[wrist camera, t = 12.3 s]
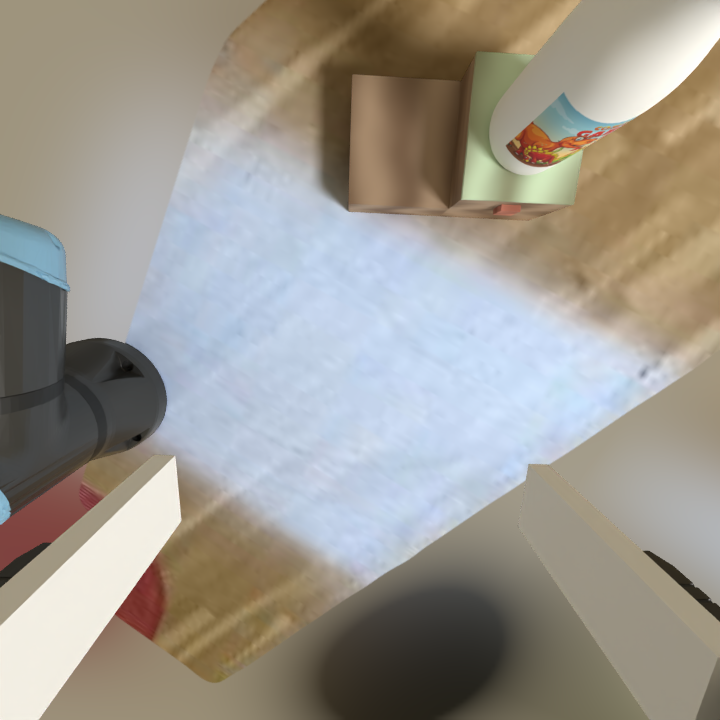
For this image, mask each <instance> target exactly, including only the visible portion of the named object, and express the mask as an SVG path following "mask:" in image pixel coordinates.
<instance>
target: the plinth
mask: <svg viewBox="0 0 720 720" xmlns="http://www.w3.org/2000/svg"><path fill="white" fill-rule="evenodd" d="M534 56H535V55H526V54H511V53H495V52H480V51H477V52H476V54H475V56H474V58H473V60H472V62H471V63H470V65H469V67H468V69H467V71H466V73H465V75H464V76H463V78H462V80H461V81H452V80H436V79H420V78H404V77H388V76H372V75H356V74H352V99H351V132H350V165H349V198H348V208H349V212H366V213H386V214H407V215H427V216H448V217H468V218H489V219H509V220H532V219H534V218H537V217H540V216H543V215H546V214H548V213H551V212H554V211H557V210H560V209H562V208H565V207H568V206H571V205H574V201H575V195H576V189H577V183H578V178H579V172H580V166H581V160H582V154H583V149H582V150H580V151H579V152H577V153H575V154H574V155H572V156H570V157H568V158H567V159H565V160H563V161H561V162H560V163H558V164H556V165H554V166H553V167H551V168H549V169H547V170H545V171H543V172H541V173H538V174H534V175H519V174H516V173H513V172H510V171H509V170H507V169H505V168H504V167H503V166H502V165H501V164H500V163H499V162H498V161H497V159H496V158H495V156H494V154H493V152H492V149H491V145H490V139H489V127H490V121H491V117H492V114H493V111H494V109H495V107H496V105H497V103H498V102H499V100H500V99H501V98H502V96H503V95H504V94H505V92H506V91H507V90H508V89H509V87H510V86H511V85H512V84H513V82H514V81H515V80H516V79H517V77H518V76H519V75H520V74H521V72H522V71H523V70H524V69H525V67H526V66H527V65H528V64H529V63H530V61H531V60H532V59H533V58H534Z"/></svg>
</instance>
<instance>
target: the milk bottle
mask: <svg viewBox="0 0 720 720" xmlns="http://www.w3.org/2000/svg"><path fill="white" fill-rule="evenodd" d="M719 38H720V0H582V1H581V2H580V3H579V4H578V5H577V6H576V7H575V8H574V10H573V11H572V12H571V13H570V14H569V15H568V16H567V18H566V19H565V20H564V21H563V22H562V24H561V25H560V26H559V27H558V28H557V30H556V31H555V32H554V33H553V35H552V36H551V37H550V38H549V39H548V41H547V42H546V43H545V44H544V45H543V47H542V48H541V49H540V50H539V51H538V53H537V54H536V55H535V56H534V58H533V59H532V60H531V61H530V63H529V64H528V65H527V66H526V67H525V69H524V70H523V71H522V72H521V74H520V75H519V76H518V77H517V79H516V80H515V81H514V82H513V84H512V85H511V86H510V87H509V89H508V90H507V91H506V92H505V94H504V95H503V96H502V98H501V99H500V100H499V102H498V103H497V105H496V107H495V109H494V111H493V114H492V117H491V121H490V127H489V139H490V145H491V149H492V152H493V154H494V156H495V158H496V159H497V161H498V162H499V163H500V164H501V165H502V166H503V167H504V168H505V169H507V170H509V171H510V172H513V173H516V174H519V175H534V174H538V173H541V172H543V171H545V170H547V169H549V168H551V167H553V166H554V165H556V164H558V163H560V162H561V161H563V160H565V159H567V158H568V157H570V156H572V155H574V154H575V153H577V152H579V151H580V150H582V149H584V148H586V147H587V146H589V145H591V144H592V143H594V142H596V141H598V140H599V139H601V138H603V137H604V136H606V135H608V134H609V133H611V132H613V131H614V130H616V129H618V128H619V127H621V126H623V125H624V124H626V123H628V122H629V121H631V120H632V119H634V118H635V117H637V116H639V115H640V114H642V113H643V112H645V111H646V110H648V109H649V108H651V107H652V106H654V105H655V104H656V103H658V102H659V101H660V100H662V99H663V98H664V97H666V96H667V95H668V94H669V93H671V92H672V91H673V90H674V89H675V88H676V87H677V86H678V85H679V84H681V83H682V82H683V81H684V80H685V79H686V78H687V77H688V76H689V75H690V73H691V72H692V71H693V70H694V69H695V68H696V67H697V66H698V65H699V63H700V62H701V61H702V60H703V59H704V57H705V56H706V55H707V54H708V52H709V51H710V50H711V48H712V47H713V46H714V44H715V43H716V42H717V40H718V39H719Z"/></svg>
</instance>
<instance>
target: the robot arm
mask: <svg viewBox="0 0 720 720" xmlns="http://www.w3.org/2000/svg"><path fill="white" fill-rule="evenodd" d="M67 291H70V287H69V285H68V284H67V280H66V255H65V250H64V247H63V245H62V243H61V242H60V241H59V239H57V237H55V236H54V235H53V234H51V233H50V232H49V231H47V230H45V229H43V228H40V227H38V226H35V225H32V224H29V223H26V222H23V221H20V220H17V219H13V218H10V217H7V216H4V215H1V214H0V524H2V523H3V522H5V521H6V520H7V519H8V518H9V517H11V516H12V515H14V514H15V513H17V512H18V511H19V510H21V509H22V508H24V507H25V506H26V505H28V504H29V503H31V502H32V501H33V500H34V499H36V498H38V497H39V496H41V495H42V494H43V493H45V492H46V491H48V490H49V489H50V488H52V487H53V486H55V485H56V484H58V483H59V482H61V481H62V480H63V479H65V478H66V477H67V476H69V475H70V474H72V473H73V472H75V471H76V470H78V469H79V468H80V467H82V466H83V465H85V464H86V463H88V462H89V461H91V460H95V459H98V458H102V457H106V456H109V455H113V454H117V453H121V452H124V451H127V450H129V449H131V448H133V447H135V446H137V445H139V444H140V443H141V442H143V441H144V440H145V439H147V438H148V437H149V436H151V435H152V434H153V433H154V432H155V431H156V430H157V429H158V427H159V426H160V424H161V422H162V420H163V418H164V415H165V412H166V405H167V396H166V390H165V386H164V383H163V380H162V378H161V376H160V374H159V372H158V371H157V369H156V368H155V367H154V365H153V364H152V363H151V362H150V361H149V360H148V359H147V358H146V357H145V356H144V355H143V354H142V353H140V352H139V351H138V350H136V349H134V348H133V347H131V346H129V345H127V344H125V343H122V342H119V341H116V340H111V339H105V338H92V339H86V340H81V341H77V342H72V343H69V344H66V320H67ZM180 522H181V513H180V502H179V491H178V480H177V469H176V458H175V456H172V455H153V456H152V457H151V458H150V459H149V460H148V461H146V462H145V463H144V464H143V465H142V466H141V467H139V468H138V469H137V470H136V471H135V472H134V473H133V474H131V475H130V476H129V477H128V478H127V479H126V480H124V481H123V482H122V483H121V484H120V485H119V486H117V487H116V488H115V489H114V490H113V491H112V492H111V493H109V494H108V495H107V496H106V497H105V498H104V499H102V500H101V501H100V502H99V503H98V504H97V505H96V506H94V507H93V508H92V509H91V510H90V511H89V512H87V513H86V514H85V515H84V516H83V517H82V518H81V519H80V520H78V521H77V522H76V523H75V524H74V525H72V527H70V528H69V529H68V530H67V531H66V532H64V533H63V534H62V535H61V536H60V537H59V538H58V539H56V540H55V541H54V542H53V543H42V544H40V545H39V546H37V547H35V548H34V549H32V550H30V551H28V552H27V553H25V554H23V555H21V556H20V557H18V558H16V559H15V560H14V561H13V562H11V563H10V564H9V565H8V566H6V567H5V568H4V569H3V570H2V571H0V720H38V719H39V718H40V717H41V715H42V714H43V713H44V711H45V710H46V708H47V707H48V706H49V704H50V703H51V702H52V700H53V699H54V697H55V696H56V695H57V693H58V692H59V690H60V689H61V688H62V686H63V685H64V683H65V682H66V681H67V679H68V678H69V676H70V675H71V674H72V672H73V671H74V669H75V668H76V667H77V665H78V664H79V663H80V661H81V660H82V658H83V657H84V655H85V654H86V653H87V651H88V650H89V649H90V647H91V646H92V644H93V643H94V642H95V640H96V639H97V637H98V636H99V635H100V633H101V632H102V630H103V629H104V628H105V626H106V625H107V624H108V622H109V621H110V619H111V618H112V617H113V615H114V614H115V612H116V611H117V610H118V608H119V607H120V606H121V604H122V603H123V601H124V600H125V599H126V597H127V596H128V594H129V593H130V592H131V590H132V589H133V587H134V586H135V585H136V583H137V582H138V580H139V579H140V578H141V576H142V575H143V574H144V572H145V571H146V569H147V568H148V567H149V565H150V564H151V562H152V561H153V560H154V558H155V557H156V555H157V554H158V553H159V551H160V550H161V548H162V547H163V546H164V544H165V543H166V542H167V540H168V539H169V537H170V536H171V535H172V533H173V532H174V530H175V529H176V528H177V526H178V525H179V523H180ZM518 528H519V529H520V531H521V532H522V534H523V535H524V537H525V538H526V540H527V541H528V542H529V544H530V545H531V547H532V548H533V550H534V551H535V553H536V554H537V556H538V557H539V559H540V560H541V562H542V563H543V564H544V566H545V567H546V569H547V570H548V572H549V573H550V575H551V576H552V578H553V579H554V581H555V582H556V583H557V585H558V586H559V588H560V589H561V591H562V592H563V594H564V595H565V597H566V598H567V599H568V601H569V602H570V604H571V605H572V607H573V608H574V610H575V611H576V613H577V614H578V616H579V617H580V618H581V620H582V621H583V623H584V624H585V626H586V627H587V629H588V630H589V632H590V633H591V635H592V636H593V638H594V639H595V640H596V642H597V643H598V645H599V646H600V648H601V649H602V651H603V652H604V653H605V655H606V657H607V658H608V660H609V661H610V662H611V664H612V665H613V667H614V668H615V670H616V671H617V673H618V674H619V676H620V677H621V679H622V680H623V681H624V683H625V684H626V686H627V687H628V689H629V690H630V692H631V693H632V695H633V696H634V698H635V699H636V700H637V702H638V703H639V705H640V706H641V708H642V709H643V711H644V712H645V714H646V715H647V717H648V718H649V719H650V720H720V607H719V606H718V605H717V604H716V603H712V601H711V599H710V598H709V597H708V596H707V595H706V594H705V593H704V592H702V591H701V590H700V589H699V588H695V587H694V584H693V583H692V582H691V581H690V580H689V579H688V578H686V577H685V576H684V575H683V574H682V573H681V572H680V571H678V570H677V569H676V568H675V567H674V566H673V565H671V564H669V563H668V562H666V561H665V560H663V559H661V558H660V557H658V556H656V555H655V554H653V553H652V552H650V551H642V550H641V549H640V548H639V547H638V546H636V545H635V544H634V543H633V542H632V541H631V540H630V539H629V538H628V537H627V536H626V535H624V534H623V533H622V532H621V531H620V530H619V529H618V528H617V527H616V526H615V525H614V524H612V523H611V522H610V521H609V520H608V519H607V518H606V517H605V516H604V515H603V514H602V513H601V512H600V511H598V510H597V509H596V508H595V507H594V506H593V505H592V504H591V503H590V502H589V501H588V500H586V499H585V498H584V497H583V496H582V495H581V494H580V493H579V492H578V491H577V490H575V489H574V488H573V487H572V486H571V485H570V484H569V483H568V482H567V481H566V480H565V479H564V478H562V477H561V476H560V475H559V474H558V473H557V472H556V471H555V470H554V469H553V468H552V467H550V466H549V465H544V464H529V465H528V471H527V476H526V483H525V488H524V494H523V500H522V506H521V512H520V517H519V523H518Z"/></svg>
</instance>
